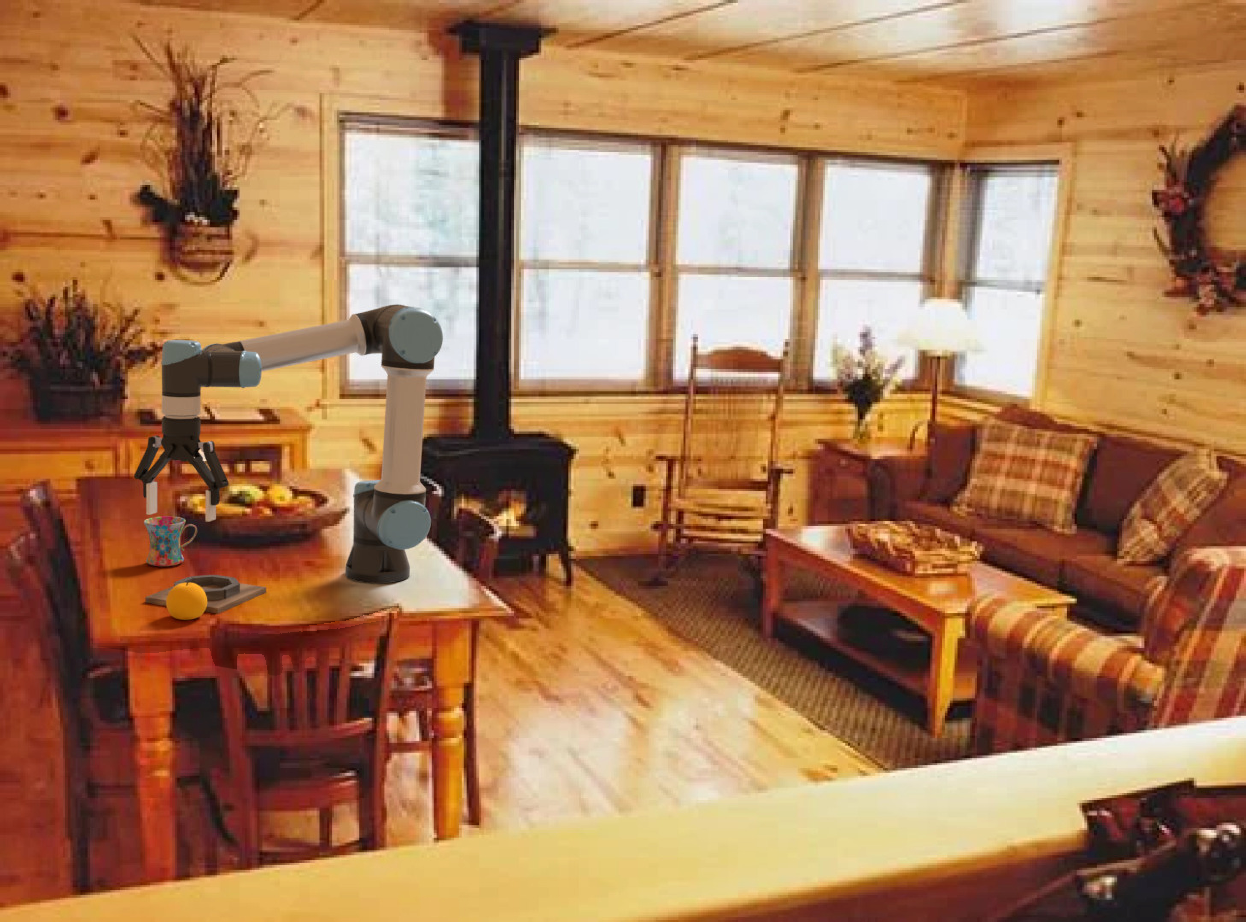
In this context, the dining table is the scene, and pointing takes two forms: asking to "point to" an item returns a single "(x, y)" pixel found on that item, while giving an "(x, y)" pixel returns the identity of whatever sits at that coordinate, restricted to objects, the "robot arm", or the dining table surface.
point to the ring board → (214, 603)
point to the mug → (166, 540)
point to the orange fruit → (186, 601)
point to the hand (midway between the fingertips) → (181, 516)
